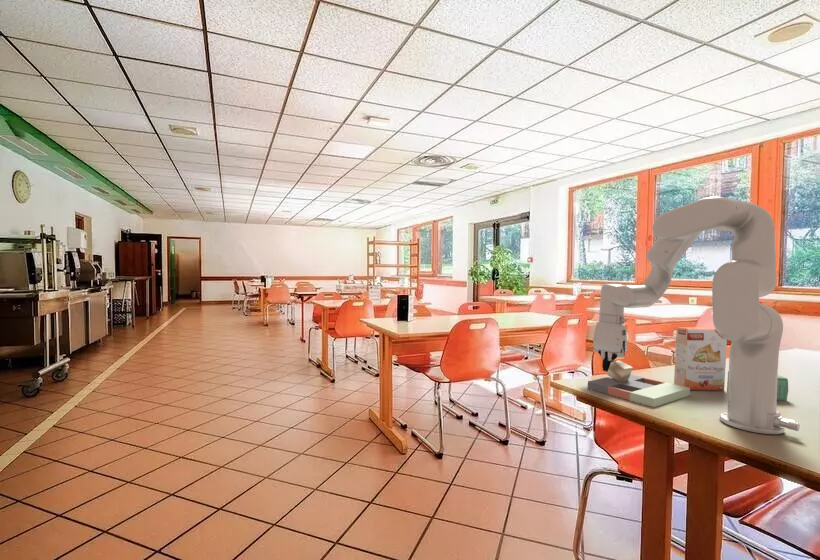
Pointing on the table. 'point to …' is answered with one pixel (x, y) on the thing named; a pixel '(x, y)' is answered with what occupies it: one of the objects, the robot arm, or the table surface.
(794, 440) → the table surface
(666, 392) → the platform
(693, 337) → the cracker box
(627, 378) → the block
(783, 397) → the box
